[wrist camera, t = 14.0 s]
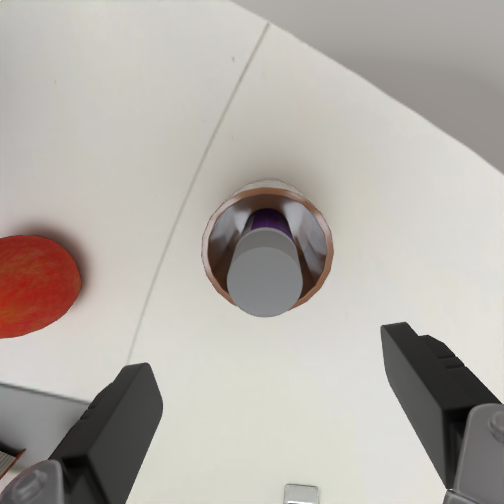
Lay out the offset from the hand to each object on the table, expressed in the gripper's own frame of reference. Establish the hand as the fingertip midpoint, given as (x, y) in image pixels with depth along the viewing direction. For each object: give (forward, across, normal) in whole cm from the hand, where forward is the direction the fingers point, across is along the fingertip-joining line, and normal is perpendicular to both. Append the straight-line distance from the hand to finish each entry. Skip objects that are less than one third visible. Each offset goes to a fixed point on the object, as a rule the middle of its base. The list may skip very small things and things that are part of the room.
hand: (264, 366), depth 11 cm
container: (+23, 0, 0) cm, 23 cm away
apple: (+24, +26, 0) cm, 35 cm away
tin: (+24, 0, 0) cm, 24 cm away
